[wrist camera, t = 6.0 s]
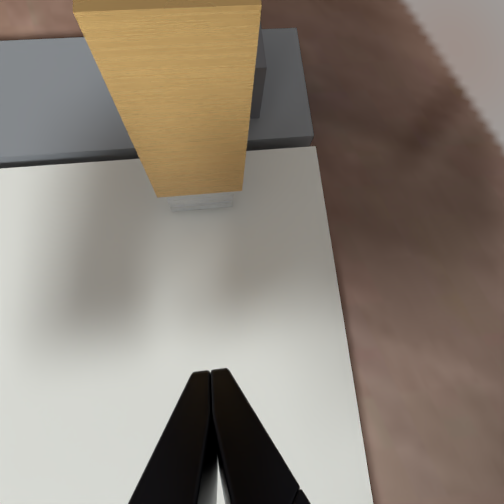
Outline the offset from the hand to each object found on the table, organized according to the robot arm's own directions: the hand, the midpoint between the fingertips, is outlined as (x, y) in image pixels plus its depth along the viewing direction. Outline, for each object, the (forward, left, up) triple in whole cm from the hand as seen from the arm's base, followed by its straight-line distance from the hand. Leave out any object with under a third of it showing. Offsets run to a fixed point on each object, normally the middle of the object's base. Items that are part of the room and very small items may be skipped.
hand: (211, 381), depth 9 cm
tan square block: (+6, +8, -5) cm, 11 cm away
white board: (0, +5, -7) cm, 8 cm away
